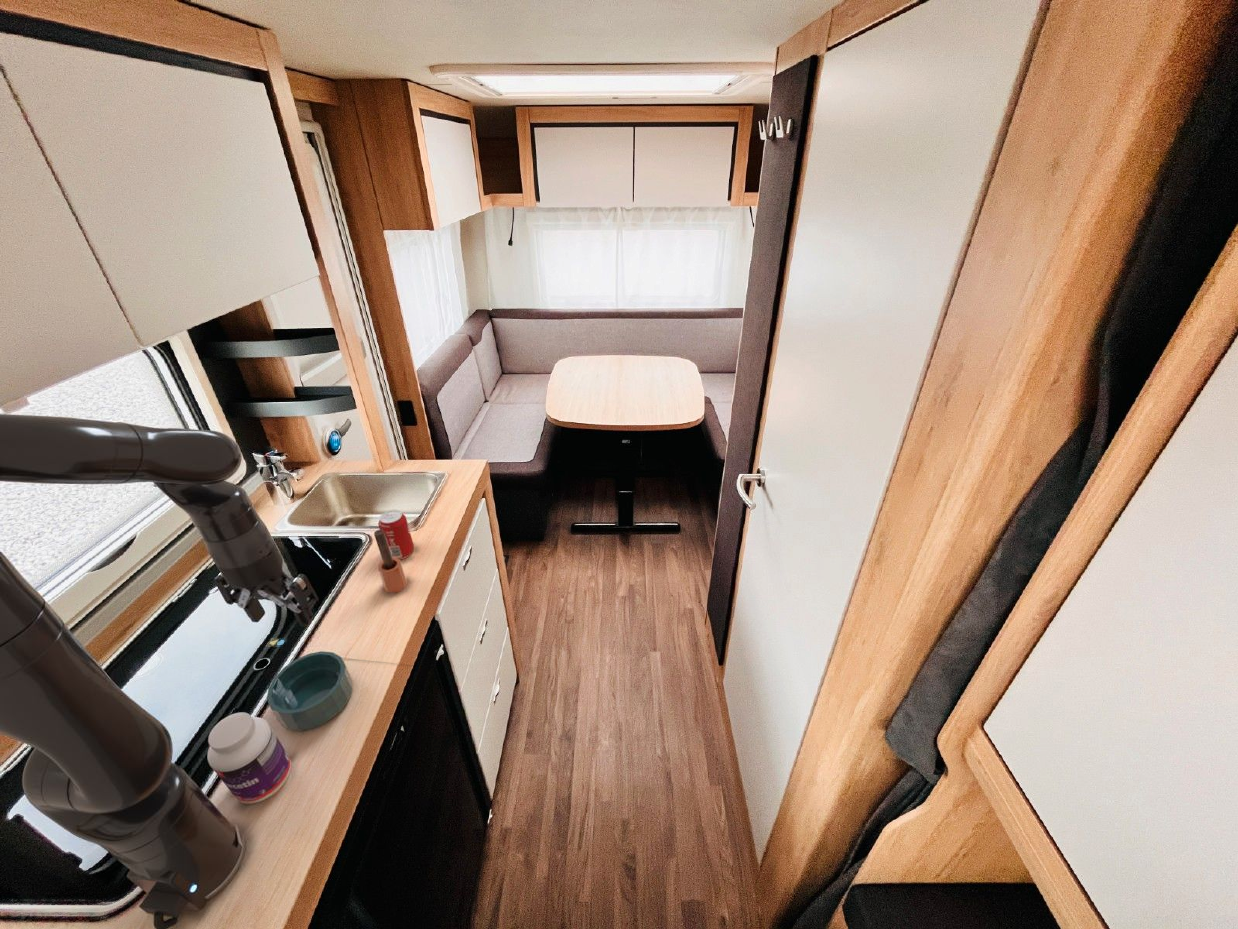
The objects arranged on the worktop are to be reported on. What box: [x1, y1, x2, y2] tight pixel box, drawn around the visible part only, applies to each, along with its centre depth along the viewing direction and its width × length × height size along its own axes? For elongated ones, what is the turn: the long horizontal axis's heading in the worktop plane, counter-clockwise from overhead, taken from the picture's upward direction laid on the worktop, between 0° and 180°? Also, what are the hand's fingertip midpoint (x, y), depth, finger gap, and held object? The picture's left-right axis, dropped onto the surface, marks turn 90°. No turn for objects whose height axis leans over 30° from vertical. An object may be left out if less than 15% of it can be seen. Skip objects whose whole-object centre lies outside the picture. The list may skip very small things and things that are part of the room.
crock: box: [377, 557, 408, 594], centre depth 117 cm, size 5×5×7 cm
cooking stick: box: [373, 529, 395, 570], centre depth 114 cm, size 2×2×16 cm
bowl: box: [266, 651, 354, 732], centre depth 93 cm, size 12×13×6 cm
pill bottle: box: [206, 711, 292, 805], centre depth 79 cm, size 8×8×14 cm
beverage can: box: [377, 509, 415, 560], centre depth 125 cm, size 6×6×12 cm
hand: (283, 620), depth 84 cm, fingers open, 8 cm apart
